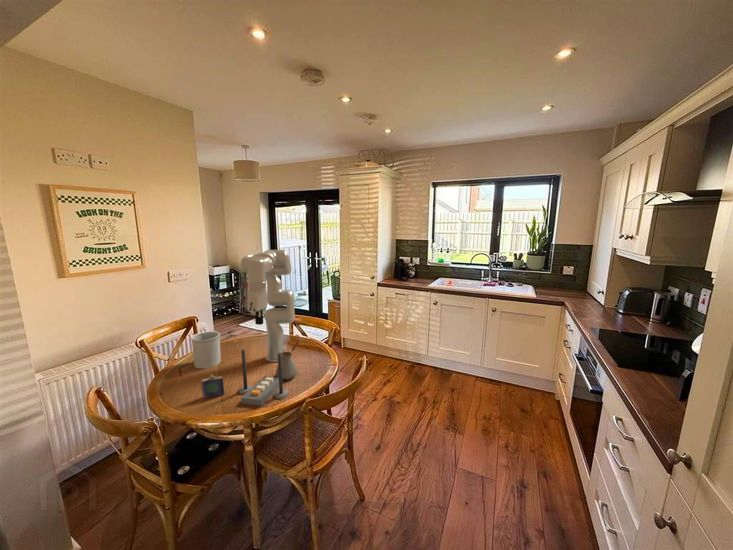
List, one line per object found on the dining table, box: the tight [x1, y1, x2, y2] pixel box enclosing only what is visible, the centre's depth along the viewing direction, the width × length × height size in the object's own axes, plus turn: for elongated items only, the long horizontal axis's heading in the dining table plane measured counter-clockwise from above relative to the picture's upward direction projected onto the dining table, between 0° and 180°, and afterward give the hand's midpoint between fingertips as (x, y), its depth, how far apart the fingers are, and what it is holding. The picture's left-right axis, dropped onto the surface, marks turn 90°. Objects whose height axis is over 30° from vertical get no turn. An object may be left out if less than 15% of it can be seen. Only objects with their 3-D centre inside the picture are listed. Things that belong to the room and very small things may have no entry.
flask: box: [200, 373, 225, 400], centre depth 138 cm, size 9×3×11 cm, turn 109°
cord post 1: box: [238, 349, 253, 395], centre depth 141 cm, size 6×6×21 cm
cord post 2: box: [273, 353, 289, 400], centre depth 138 cm, size 6×6×21 cm
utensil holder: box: [190, 330, 221, 369], centre depth 170 cm, size 15×15×18 cm
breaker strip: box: [240, 375, 279, 407], centre depth 141 cm, size 20×10×4 cm, turn 169°
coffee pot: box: [274, 339, 300, 381], centre depth 160 cm, size 21×12×15 cm, turn 166°
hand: (259, 323), depth 136 cm, fingers closed
